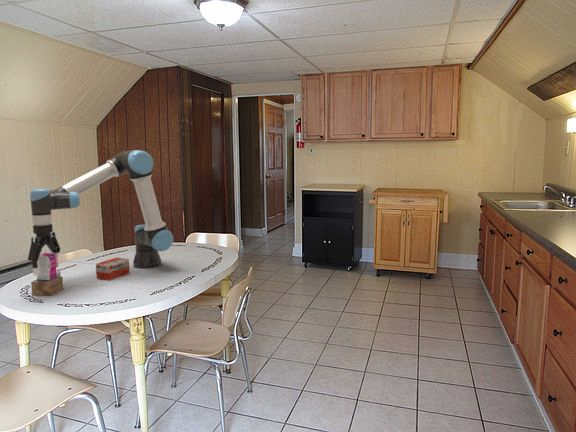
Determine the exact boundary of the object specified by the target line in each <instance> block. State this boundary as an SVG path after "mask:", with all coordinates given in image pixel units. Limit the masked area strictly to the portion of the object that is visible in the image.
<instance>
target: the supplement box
mask: <svg viewBox="0 0 576 432" xmlns="http://www.w3.org/2000/svg"><path fill="white" fill-rule="evenodd" d="M38 260H39V261H40V273H41V275H36V280H37V281H50V280H52V279H54V278H57V273H56V272H57V267H56V254H53V253H52V252H50V253H49V252H44V253H40V255H39V258H38Z"/></svg>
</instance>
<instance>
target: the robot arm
mask: <svg viewBox="0 0 576 432" xmlns="http://www.w3.org/2000/svg"><path fill="white" fill-rule="evenodd" d="M153 168H154V159H153V158H152V155H151V154H149V153H148V152H147V151H144V150H140V149H136V150H135V149H134V150H125V151H122V152H120V153H118V154H117V155H115V156H113V157H111V158H109V159H107V160H106V162H105V163H104V164H102V165H100V166H98V167H95V168H94V169H93V170H90V171H88V172H86V173H84V174H82V175H81V176H79V177H77V178H75V179H73V180H71V181H69V182H67V183H65V184H63V185H61V186H59V187H57V188H56V189H51V190H50V189H49V188H35V189H32V190H30V199H29V201H30V206H31V217H32V219H31V221H32V224H33V225H32V232H33V234H34V235H35V236H34V237H31V238H30V240H31V242H30V247H29V251H28V252H29V253H28V257H27V260H28V261H31V264H32V274H33V275H32V276H37V275H41V273H40V261H39V260H38V258H39V255H40V254H42V249H43V248H44V246H47V248H48V249H49V250H50V253H53V254H56V268H59V255H58V253H60V252H61V247H60V244H59V242H58V239H57V237H56V232H53V231H54V230H53V224H52V223H53V217H52V216H53V215H52V210H53V211H55V210H65V209H66V210H67V209H70V210H71V209H72V210H73V209H76V208H79V207H80V202H81V201H80V200H81V199H80V195H82V194H84V193H86V192H87V191H89V190H91V189H93V188H95V187H97V186H99V185H101V184H103V183H104V182H106V181H108V180H109V179H111V178H113V177H116V178H118V177H120V176H122V175H124V174H127V176H128V179H129V181H132V183H133V186H134V189H135V192H136V196H137V199H138V203H139V205H140V209H141V214H142V216H143V217H142V218H143V221H144V224H138V225H136V226H135V227H134V231H133V232H134V244H135V254H134V258H133V261H132V263H133V264H132V265H133V267H134V268H136V269H137V268H138V269H140V268H141V269H149V268H156V267H159V266H161V265H162V259H161V256H160V253H159V252H166V251H168V249H170V248H171V247H172V245H173V243H174V235H173V232H171V231H170V230H168V226H167V224H166V222H164V221H163V220H162V216H161V211H160V209H159V208H160V207H159V205H158V201H157V197H156V194H155V190H154V186H153V182H152V179H151V177H153V171H152V170H153Z"/></svg>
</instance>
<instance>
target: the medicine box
mask: <svg viewBox="0 0 576 432" xmlns="http://www.w3.org/2000/svg"><path fill="white" fill-rule="evenodd" d="M95 273H96V274H95V276H96V279H97V280H105V281H111V280H114V279H117V278H120V277H123V276H125V275H129V274H130V259H129V258H125V257H114V258H110V259H107V260H104V261H101V262H98V263H96V264H95Z"/></svg>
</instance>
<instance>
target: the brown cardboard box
mask: <svg viewBox="0 0 576 432" xmlns="http://www.w3.org/2000/svg"><path fill="white" fill-rule="evenodd" d="M63 278H64V277H63V276H61V277H57V278H54V279H52V280H50V281H37V279H35V280H32V281H31V282H30V283H31V284H30V285H31V296H54V295H56V294H57V293H60V292H61V291H64V281H63V280H64V279H63Z"/></svg>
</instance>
